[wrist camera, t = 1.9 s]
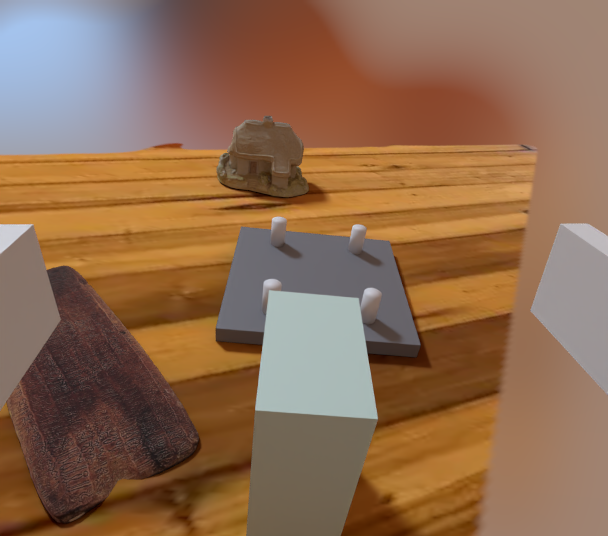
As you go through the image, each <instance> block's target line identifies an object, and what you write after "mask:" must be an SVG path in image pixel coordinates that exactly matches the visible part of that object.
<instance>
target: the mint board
mask: <svg viewBox="0 0 608 536" xmlns="http://www.w3.org/2000/svg"><path fill="white" fill-rule="evenodd" d="M377 420H378V417H377V411H376V405H375V398H374V392H373V386H372V380H371V373H370V367H369V361H368V354H367V348H366V342H365V335H364V329H363V323H362V317H361V310H360V304H359V298H352V297H341V296H329V295H318V294H307V293H295V292H284V291H273V290H269V295H268V304H267V313H266V321H265V330H264V339H263V347H262V356H261V365H260V373H259V382H258V391H257V399H256V408H255V420H254V435H253V449H252V463H251V477H250V491H249V506H248V520H247V534H246V536H341V533H342V530H343V527H344V524H345V521H346V518H347V515H348V511H349V508H350V505H351V502H352V499H353V496H354V493H355V489H356V486H357V483H358V480H359V477H360V474H361V471H362V467H363V464H364V461H365V458H366V455H367V452H368V448H369V445H370V442H371V439H372V436H373V433H374V430H375V426H376V423H377Z"/></svg>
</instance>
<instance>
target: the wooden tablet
mask: <svg viewBox="0 0 608 536" xmlns="http://www.w3.org/2000/svg"><path fill="white" fill-rule="evenodd" d="M46 271H47V274H48V277H49V281H50V284H51V288H52V291H53V295H54V298H55V302H56V305H57V308H58V312H59V315H60V319H61V320H60V322H59V323H58V325H57V326H56V328H55V329H54V331H53V332H52V334H51V335H50V337H49V338H48V340H47V341H46V343H45V344H44V346H43V347H42V349H41V350H40V352H39V353H38V355H37V356H36V358H35V359H34V361H33V362H32V364H31V365H30V367H29V368H28V370H27V371H26V373H25V374H24V376H23V377H22V379H21V380H20V382H19V383H18V385H17V386H16V388H15V389H14V391H13V392H12V394H11V395H10V397H9V398H8V400H7V401H6V402H7V406H8V410H9V413H10V416H11V419H12V421H13V424H14V427H15V431H16V433H17V436H18V438H19V441H20V444H21V447H22V450H23V453H24V457H25V459H26V462H27V465H28V469H29V471H30V474H31V478H32V480H33V483H34V485H35V488H36V490H37V493H38V495H39V497H40V499H41V501H42V504H43V505H44V507H45V508H46V510H47V511H48V512H49V514H50V515H51V516H52V518H53V519H55V520H56V521H57V522H58V523H60V522H63V523H69V522H71V521H74V520H76V519H77V518H79V517H81V516H82V515H84V514H85V513H86V512H88V511H89V510H91V509H92V508H94V507H95V506H97V505H98V504H99V503H101V502H102V501H103V500H104V499H106V498H107V497H108V495H109V494H110V492H111V491H112V489H113V487H114V486H115V484H116V483H117V481H118V480H120V479H122V478H123V479H143V478H147V477H151V476H153V475H156V474H159V473H161V472H163V471H165V470H167V469H169V468H171V467H173V466H175V465H176V464H179V463H180V462H182V461H183V460H185V459H186V458H188V457H189V456H190V455H192V454H193V453H194V451H195V450H196V447H197V445H198V442H199V437H198V433H197V431H196V429H195V427H194V425H193V424H192V421H191V420H190V418H189V416H188V414H187V412H186V410H185V409H184V407H183V405H182V404H181V402H180V401H179V399H178V398H177V396H176V395H175V393H174V392H173V390H172V389H171V387H170V385H169V384H168V383H167V381H166V380H165V379H164V377H163V376H162V374H161V373H160V371H159V370H158V368H157V367H156V366H155V365H154V364H153V362H152V360H151V359H150V358H149V356H148V355H147V354H146V353H145V351H144V350H143V348H142V347H141V346H140V344H139V343H138V342H137V341H136V339H135V338H134V337H133V336H132V335H131V334H130V332H129V331H128V330H127V329H126V328H125V326H124V325H123V324H122V322H121V321H120V320H119V319H118V318H117V317H116V315H115V314H114V313H113V312H112V311H111V309H110V308H109V307H108V306H107V305H106V304H105V302H104V301H103V300H102V299H101V297H100V296H99V295H98V294H97V293H96V291H95V290H94V289H93V288H92V287H91V286H90V285H88V284H87V283H88V282H87V281H86V280H85V279H84V278H83V277H82V276H81V275H80V274H79V273H78V272H77V271H75V270H74V269H73V268H71V267H69V266H60V267H56V268H52V269H49V270H46Z"/></svg>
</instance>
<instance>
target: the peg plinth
mask: <svg viewBox="0 0 608 536" xmlns="http://www.w3.org/2000/svg"><path fill="white" fill-rule="evenodd" d="M286 222H287V220H286V219H285V218H283V217H274V218H273V219H272V229H271V230H269V229H259V228H249V227H241V230H240V234H239V238H238V242H237V246H236V250H235V254H234V258H233V262H232V266H231V270H230V274H229V278H228V282H227V286H226V289H225V293H224V297H223V301H222V305H221V309H220V313H219V317H218V321H217V325H216V341H223V342H235V343H247V344H259V345H263V339H264V330H265V321H266V313H267V304H268V295H269V290H273V291H284V292H295V293H307V294H318V295H329V296H341V297H352V298H359V304H360V310H361V317H362V323H363V329H364V335H365V342H366V348H367V353H370V354H382V355H394V356H406V357H417V355H418V352H419V349H420V346H421V344H420V341H419V338H418V335H417V331H416V328H415V325H414V321H413V318H412V315H411V311H410V308H409V305H408V302H407V298H406V295H405V292H404V288H403V285H402V282H401V279H400V275H399V272H398V269H397V265H396V262H395V259H394V256H393V252H392V249H391V246H390V242H389V241H383V240H373V239H365V235H366V230H367V228H366V227H365V226H363V225H353V227H352V232H351V237H342V236H332V235H321V234H311V233H300V232H290V231H286Z"/></svg>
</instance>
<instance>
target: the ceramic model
mask: <svg viewBox="0 0 608 536" xmlns="http://www.w3.org/2000/svg"><path fill="white" fill-rule="evenodd" d="M303 151H304V147H303V143H302V141H301V139H300V138H298V137H297V135H296V134H295V133H294V131H293V130H292V128H291V126H290V125H289V124H287V123H279V122H273V119H272V117H271V116H264V118H263V122H261V121H258V120H245V121H244V123H242V124H241V125H240V126H238V127H236V128H235V129H234V132H233V139H232V143H231V145H230V146H229V148H228V151H227V152H228V153H229V154H230V155H229V154H228V153H224V154H222V155H221V156H220V161H219V165H218V166H217V174H218V179H219V181H220V182H221V183H222V184H225V185H227V186H229V187H232V188H236V189H245V190H252V191H255V192H261V193H264V194H268V195H272V196H280V197H293V196H297V195H301V194H305V193H307V192H308V191H309V186H308V184H307V180H306V179H305V178H303V177H302V172H301V169H300V168H299V167H298V166H299V165H300V164H301V163H302V157H303Z"/></svg>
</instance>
